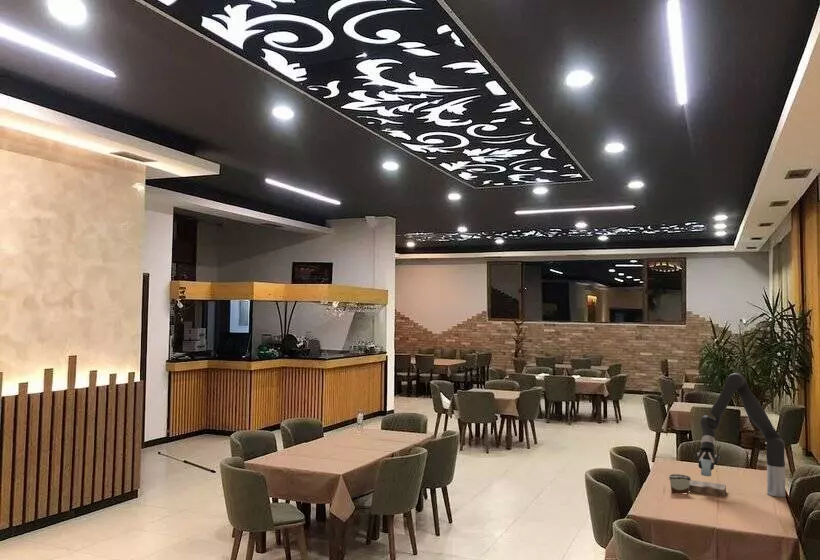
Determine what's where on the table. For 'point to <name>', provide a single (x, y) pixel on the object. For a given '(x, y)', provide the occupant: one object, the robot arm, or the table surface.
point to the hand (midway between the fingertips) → (706, 468)
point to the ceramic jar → (706, 467)
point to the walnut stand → (707, 488)
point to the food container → (679, 483)
